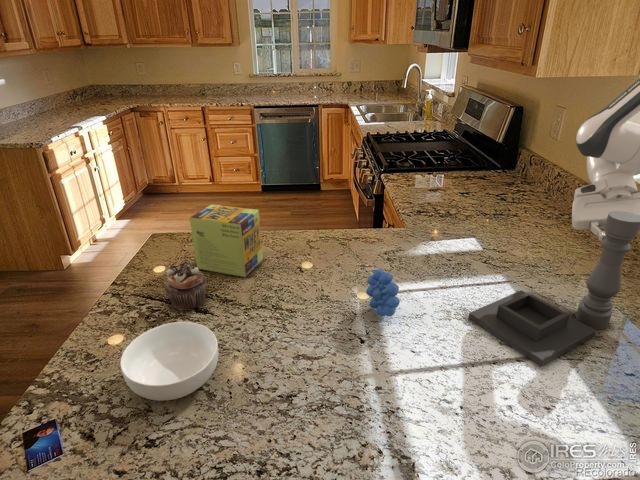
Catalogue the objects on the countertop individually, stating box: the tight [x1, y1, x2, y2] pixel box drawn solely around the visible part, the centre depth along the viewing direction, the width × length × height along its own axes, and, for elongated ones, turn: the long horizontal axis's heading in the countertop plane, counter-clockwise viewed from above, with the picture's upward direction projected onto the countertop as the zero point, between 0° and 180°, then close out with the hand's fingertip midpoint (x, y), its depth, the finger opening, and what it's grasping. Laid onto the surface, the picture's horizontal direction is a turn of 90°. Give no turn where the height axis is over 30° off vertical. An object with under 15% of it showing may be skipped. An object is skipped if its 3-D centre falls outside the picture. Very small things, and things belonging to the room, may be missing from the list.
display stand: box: [468, 289, 597, 367], centre depth 91 cm, size 18×18×4 cm
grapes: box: [365, 268, 401, 318], centre depth 94 cm, size 12×7×12 cm, turn 24°
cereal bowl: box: [119, 321, 220, 402], centre depth 78 cm, size 17×17×7 cm
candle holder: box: [575, 211, 640, 330], centre depth 89 cm, size 6×6×25 cm
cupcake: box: [163, 261, 207, 311], centre depth 101 cm, size 10×10×10 cm
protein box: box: [189, 204, 264, 278], centre depth 116 cm, size 10×15×16 cm
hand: (628, 237), depth 95 cm, fingers open, 8 cm apart
